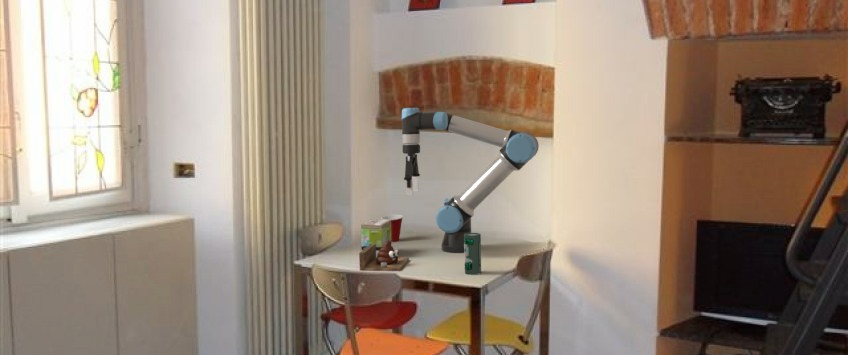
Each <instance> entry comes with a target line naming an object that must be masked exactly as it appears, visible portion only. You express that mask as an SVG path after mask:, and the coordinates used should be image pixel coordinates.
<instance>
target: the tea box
mask: <svg viewBox="0 0 848 355" xmlns="http://www.w3.org/2000/svg"><path fill="white" fill-rule="evenodd" d="M360 227H361V229H360V231H361V232H360V233H361V234H360V235H361V236H360V238H361V240H360V241H361V242H360V243H361V245H360V246H361V247H360V248H361V250H360V252H361V251H362V250H364V249H365V248H366V247H367V246H369V245H370V244H371V243H374V244H376V258H377V254H378V253H379V250H380V249H381V247H382V246H383V244H384V243H385V242H386V241H387V240H389V241H390V244H391V246H392V242H391V220H382V219H369V220H367V221H366V222H363V223H362V224H360ZM392 247H393V246H392Z"/></svg>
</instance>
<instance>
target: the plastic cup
mask: <svg viewBox="0 0 848 355" xmlns="http://www.w3.org/2000/svg"><path fill="white" fill-rule="evenodd" d="M403 218H404V215H403V214H402V215H401V214H387V215H384V216H381V217H380V220H391V243H395V242H396V243H397V242H399V241H400V235H401V227H402V223H403V222H402V221H403Z"/></svg>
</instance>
